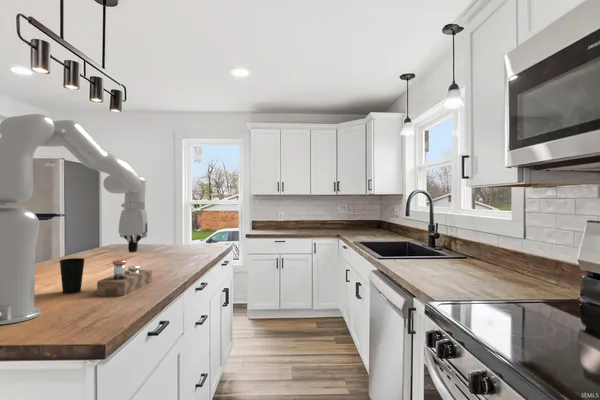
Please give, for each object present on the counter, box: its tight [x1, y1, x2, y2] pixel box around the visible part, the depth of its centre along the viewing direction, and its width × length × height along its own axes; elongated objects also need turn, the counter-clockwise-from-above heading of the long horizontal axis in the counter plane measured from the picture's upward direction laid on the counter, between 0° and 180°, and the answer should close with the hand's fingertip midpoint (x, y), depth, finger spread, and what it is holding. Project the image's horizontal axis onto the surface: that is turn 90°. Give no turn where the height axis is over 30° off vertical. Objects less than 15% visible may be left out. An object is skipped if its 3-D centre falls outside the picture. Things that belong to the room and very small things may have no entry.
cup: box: [59, 257, 85, 295], centre depth 128 cm, size 8×8×12 cm
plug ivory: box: [127, 265, 141, 274], centre depth 141 cm, size 5×5×7 cm
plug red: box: [112, 259, 127, 280], centre depth 130 cm, size 5×5×7 cm
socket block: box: [96, 269, 153, 297], centre depth 135 cm, size 22×10×5 cm, turn 179°
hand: (132, 251), depth 140 cm, fingers closed
